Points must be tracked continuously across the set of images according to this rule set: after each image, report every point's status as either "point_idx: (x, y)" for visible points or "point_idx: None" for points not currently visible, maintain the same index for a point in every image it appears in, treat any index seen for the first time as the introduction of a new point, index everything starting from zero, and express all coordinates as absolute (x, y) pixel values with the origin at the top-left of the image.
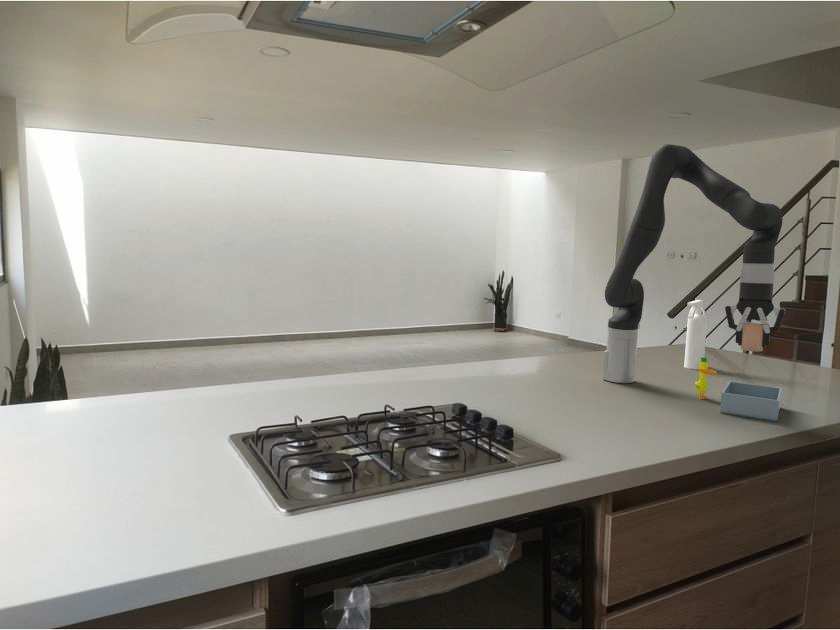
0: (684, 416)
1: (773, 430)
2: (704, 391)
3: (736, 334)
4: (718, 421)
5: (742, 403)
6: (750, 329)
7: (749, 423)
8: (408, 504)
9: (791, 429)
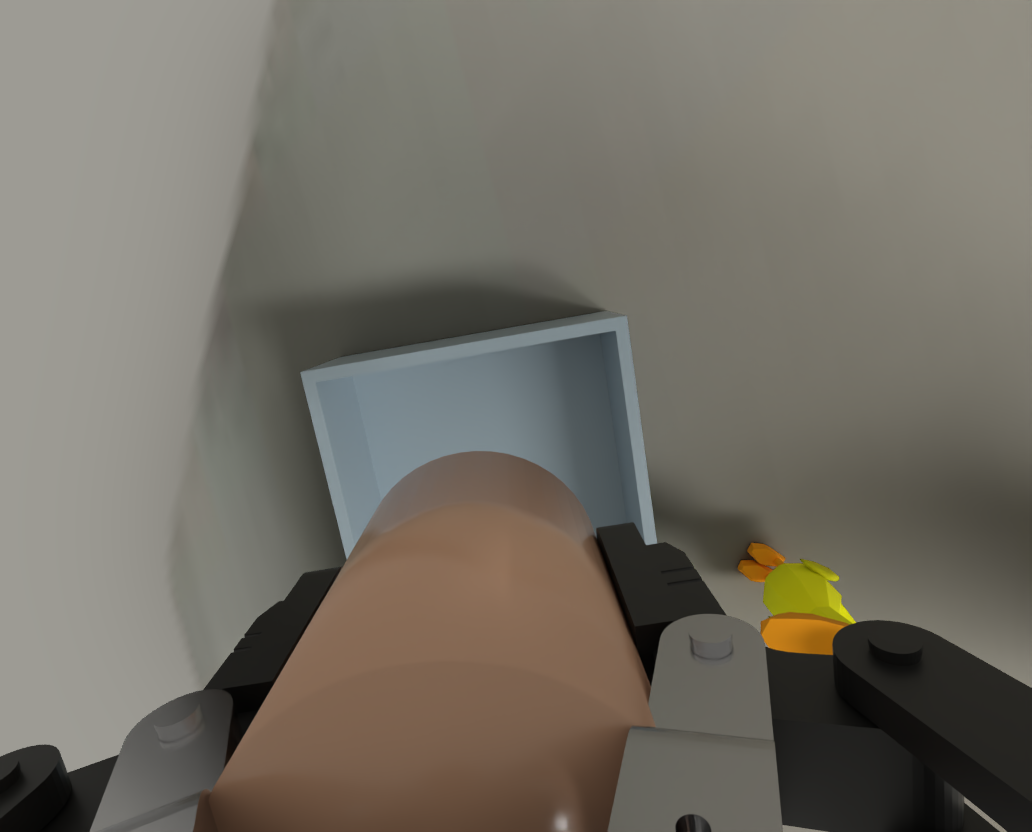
0: (736, 69)
1: (305, 169)
2: (770, 574)
3: (709, 603)
4: (563, 118)
5: (500, 333)
6: (457, 585)
7: (432, 214)
8: None
9: (250, 266)
